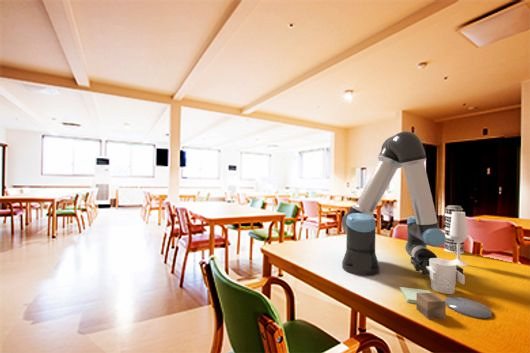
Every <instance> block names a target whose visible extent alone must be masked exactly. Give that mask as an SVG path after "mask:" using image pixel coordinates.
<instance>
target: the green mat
mask: <svg viewBox="0 0 530 353" xmlns="http://www.w3.org/2000/svg"><path fill="white" fill-rule="evenodd" d="M399 290H400V292H401V293H402V295H403V298H405V299H404V300H406V302H407V303H410V304H417V293H432V292H431V290H429V289H421V288H413V287H412V288H411V287H405V286H404V287H403V286H399Z"/></svg>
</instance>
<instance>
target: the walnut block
mask: <svg viewBox="0 0 530 353" xmlns="http://www.w3.org/2000/svg"><path fill="white" fill-rule="evenodd" d="M446 307H447V306H446V302H445V299H443V298H441V297H439V296H438V295H437V294H436V293H434V292H431V293H417V303H416V310H417V311H418V312H419V313H420V314H421V315H422V314H423V316H424V317H425V319H427V320H446V318H447V317H446V314H447V312H446V309H447V308H446Z"/></svg>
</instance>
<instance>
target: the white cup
mask: <svg viewBox="0 0 530 353" xmlns="http://www.w3.org/2000/svg"><path fill="white" fill-rule="evenodd" d="M457 266H458V265H457V264H456V263H455V262H453V261H452V260H450V259H445V258H441V257H439V258H438V257H437V258H430V259H429V267H430V268H431V269H432V270H433V271H434V272H435V273H436V281H433V280H432V279H431V278H430V277H429V279H430V288H431V289H432V290H433V291H434V292H438V293H441V294H445V295H453V294H455V290H456V288H455V287H456V282H457V279H456V267H457Z"/></svg>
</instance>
